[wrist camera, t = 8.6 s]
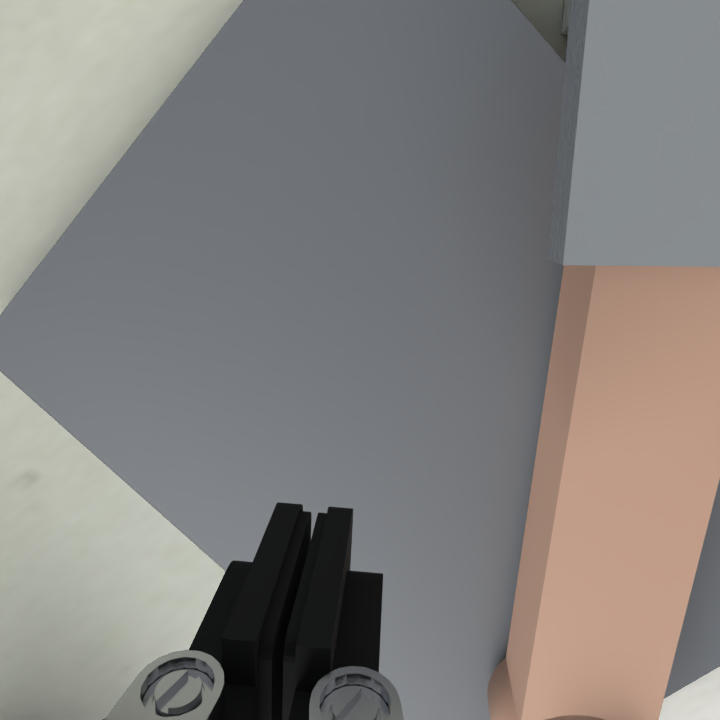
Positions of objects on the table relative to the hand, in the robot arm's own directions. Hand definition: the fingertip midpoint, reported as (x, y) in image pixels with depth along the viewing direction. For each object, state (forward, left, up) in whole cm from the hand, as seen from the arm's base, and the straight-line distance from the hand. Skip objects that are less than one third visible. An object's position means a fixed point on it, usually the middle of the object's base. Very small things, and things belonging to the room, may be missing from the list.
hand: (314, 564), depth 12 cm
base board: (+2, +2, -9) cm, 9 cm away
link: (+6, +5, -7) cm, 11 cm away
